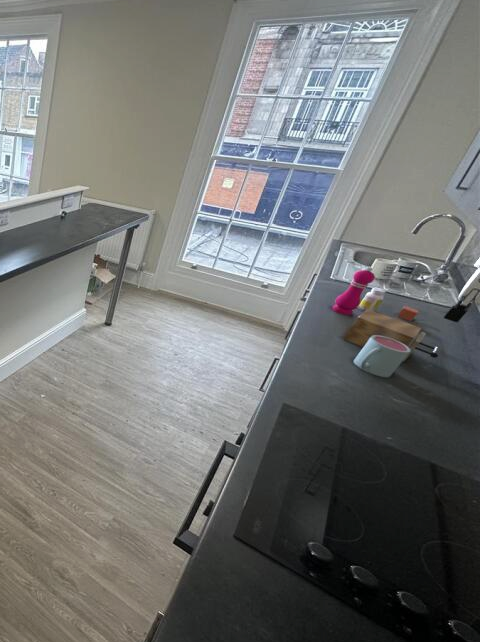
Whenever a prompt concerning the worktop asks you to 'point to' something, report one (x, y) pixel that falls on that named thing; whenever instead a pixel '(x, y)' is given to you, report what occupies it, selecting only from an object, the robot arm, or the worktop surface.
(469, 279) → the robot arm
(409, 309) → the block
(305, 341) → the worktop surface
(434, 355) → the drawer
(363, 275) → the pepper mill
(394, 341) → the mug
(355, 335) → the cabinet
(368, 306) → the supplement bottle
